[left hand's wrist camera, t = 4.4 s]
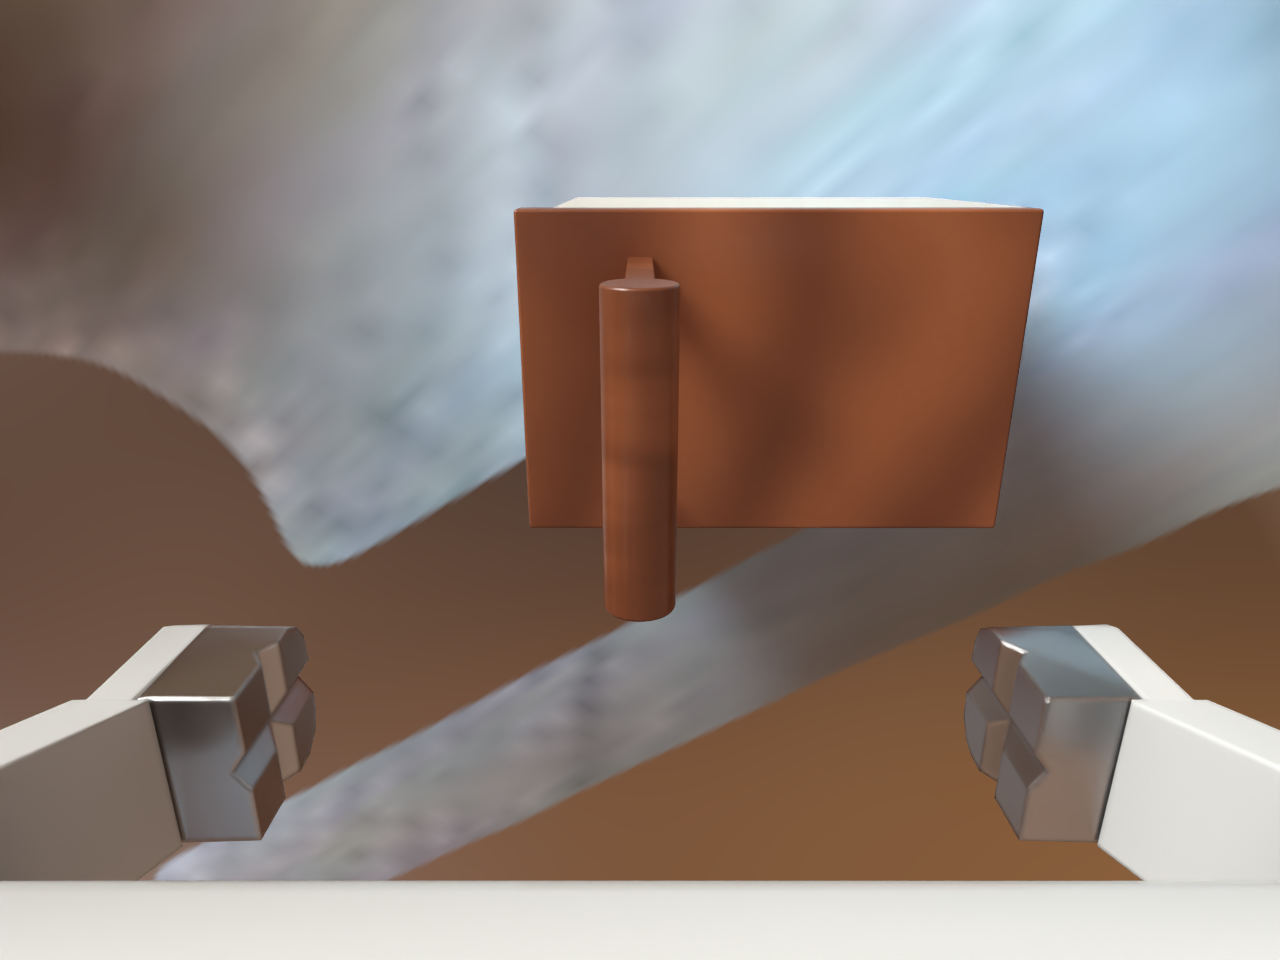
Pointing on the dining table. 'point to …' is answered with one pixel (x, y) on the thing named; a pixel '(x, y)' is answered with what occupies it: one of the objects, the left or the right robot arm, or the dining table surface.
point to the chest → (769, 202)
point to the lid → (765, 372)
